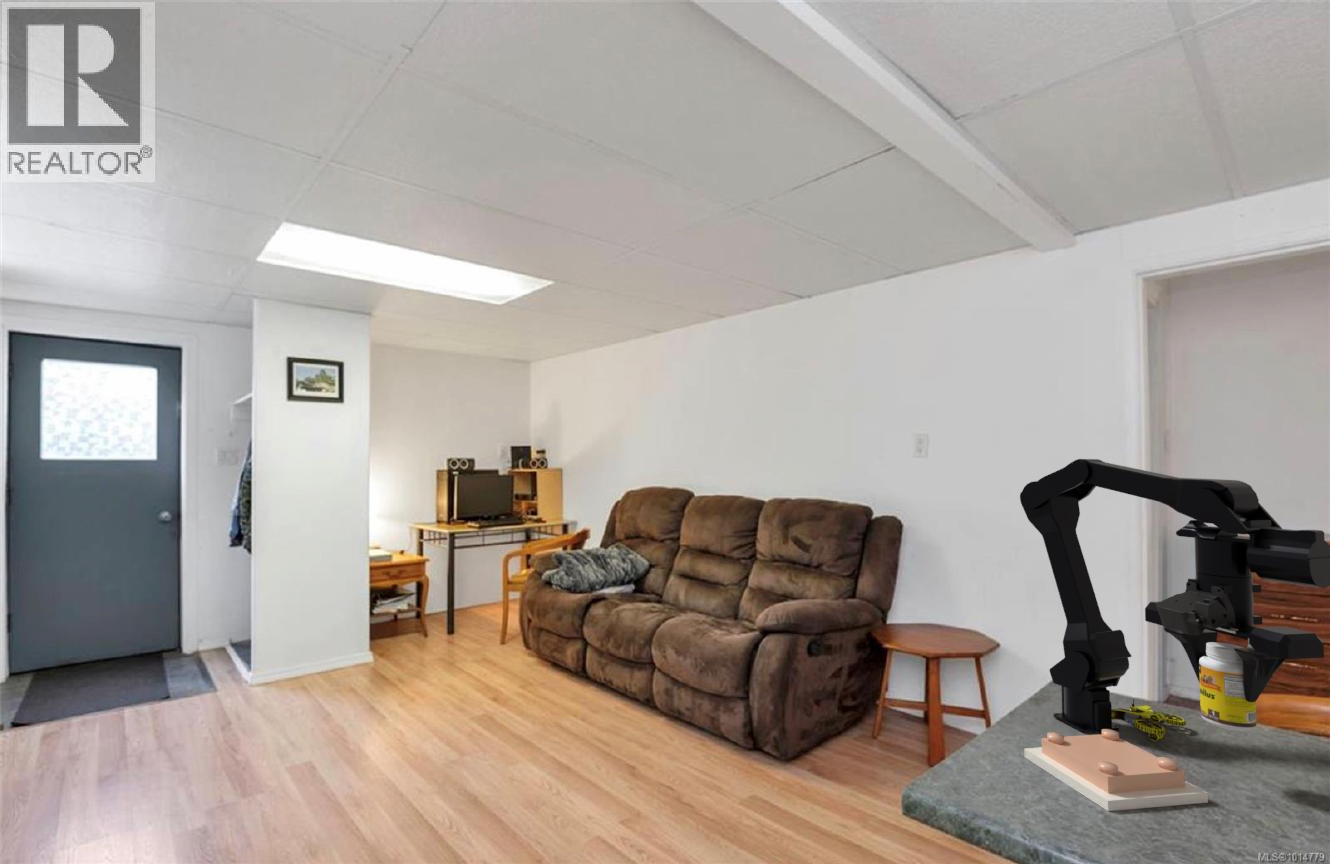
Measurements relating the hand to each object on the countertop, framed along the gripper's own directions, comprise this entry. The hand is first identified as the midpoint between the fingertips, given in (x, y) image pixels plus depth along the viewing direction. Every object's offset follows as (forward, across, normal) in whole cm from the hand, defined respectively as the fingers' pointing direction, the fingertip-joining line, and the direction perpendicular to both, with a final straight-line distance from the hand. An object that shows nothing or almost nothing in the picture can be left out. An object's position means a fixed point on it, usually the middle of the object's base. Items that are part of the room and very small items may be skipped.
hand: (1227, 692), depth 84 cm
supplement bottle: (+4, 0, 0) cm, 4 cm away
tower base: (+12, -3, -15) cm, 19 cm away
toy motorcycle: (+12, -16, +4) cm, 20 cm away
